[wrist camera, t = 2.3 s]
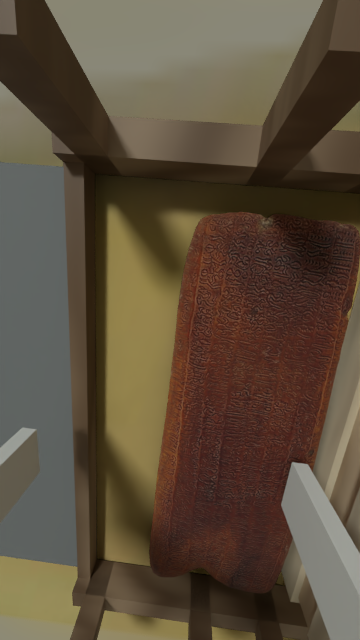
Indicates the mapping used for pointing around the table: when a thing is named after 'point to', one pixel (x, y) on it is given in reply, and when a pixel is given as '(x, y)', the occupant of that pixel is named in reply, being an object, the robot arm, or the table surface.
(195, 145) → the rack
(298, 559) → the offcut stack
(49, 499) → the mat
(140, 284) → the table surface
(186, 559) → the wooden tablet
